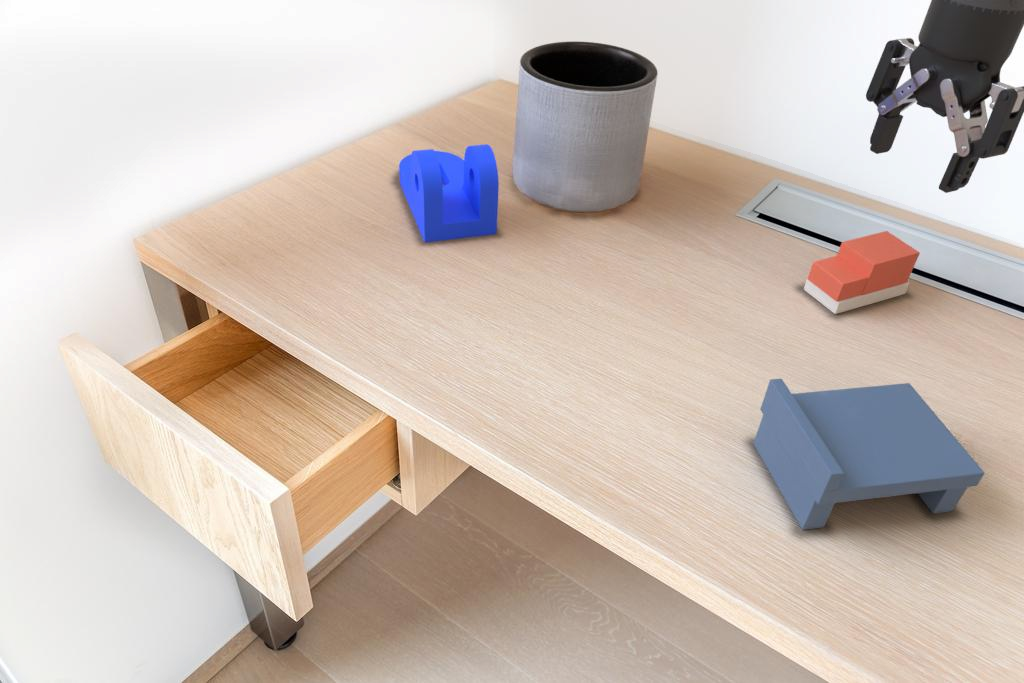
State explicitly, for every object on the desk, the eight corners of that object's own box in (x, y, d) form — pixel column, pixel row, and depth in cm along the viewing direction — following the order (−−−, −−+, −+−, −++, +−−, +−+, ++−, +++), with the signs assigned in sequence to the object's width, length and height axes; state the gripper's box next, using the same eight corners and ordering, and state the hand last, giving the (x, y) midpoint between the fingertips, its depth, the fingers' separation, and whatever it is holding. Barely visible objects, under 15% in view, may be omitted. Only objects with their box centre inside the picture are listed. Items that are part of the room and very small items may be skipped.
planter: (504, 157, 106) (510, 38, 96) (622, 157, 108) (640, 40, 98) (520, 219, 93) (528, 90, 83) (652, 217, 95) (676, 90, 85)
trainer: (872, 270, 89) (888, 229, 85) (905, 294, 85) (923, 252, 82) (801, 289, 85) (816, 247, 82) (833, 315, 82) (849, 272, 78)
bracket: (496, 234, 90) (499, 161, 85) (424, 242, 88) (423, 168, 83) (457, 163, 104) (457, 96, 98) (393, 169, 101) (390, 100, 96)
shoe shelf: (888, 425, 69) (917, 366, 65) (958, 516, 62) (996, 456, 57) (749, 439, 67) (769, 379, 63) (803, 535, 59) (831, 474, 55)
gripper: (1092, 15, 63) (1001, 197, 73) (947, -32, 73) (884, 134, 83) (1030, 23, 60) (944, 211, 70) (887, -28, 70) (830, 144, 80)
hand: (912, 169), depth 77 cm, fingers open, 8 cm apart
